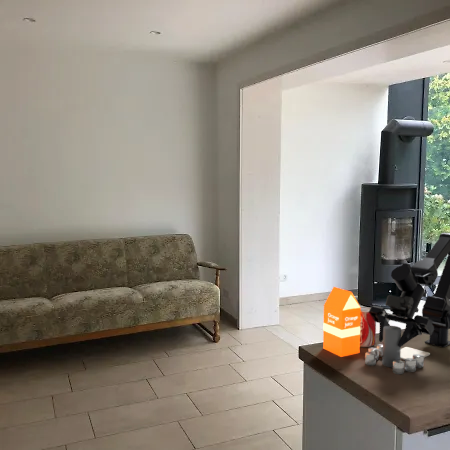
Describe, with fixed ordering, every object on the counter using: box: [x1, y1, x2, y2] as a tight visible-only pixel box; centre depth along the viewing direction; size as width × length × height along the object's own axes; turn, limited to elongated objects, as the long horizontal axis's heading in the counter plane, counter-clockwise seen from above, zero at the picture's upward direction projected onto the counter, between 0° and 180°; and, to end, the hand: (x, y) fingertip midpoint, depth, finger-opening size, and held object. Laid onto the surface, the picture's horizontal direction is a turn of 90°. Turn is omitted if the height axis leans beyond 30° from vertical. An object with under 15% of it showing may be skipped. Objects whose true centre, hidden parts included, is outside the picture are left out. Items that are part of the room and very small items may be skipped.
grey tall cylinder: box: [382, 325, 402, 369], centre depth 152 cm, size 5×5×11 cm
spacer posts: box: [364, 343, 425, 375], centre depth 153 cm, size 12×15×3 cm
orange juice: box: [322, 286, 361, 358], centre depth 164 cm, size 8×9×20 cm
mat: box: [400, 346, 431, 361], centre depth 160 cm, size 10×8×1 cm
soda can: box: [360, 306, 377, 348], centre depth 169 cm, size 7×7×12 cm
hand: (389, 343), depth 151 cm, fingers open, 6 cm apart
